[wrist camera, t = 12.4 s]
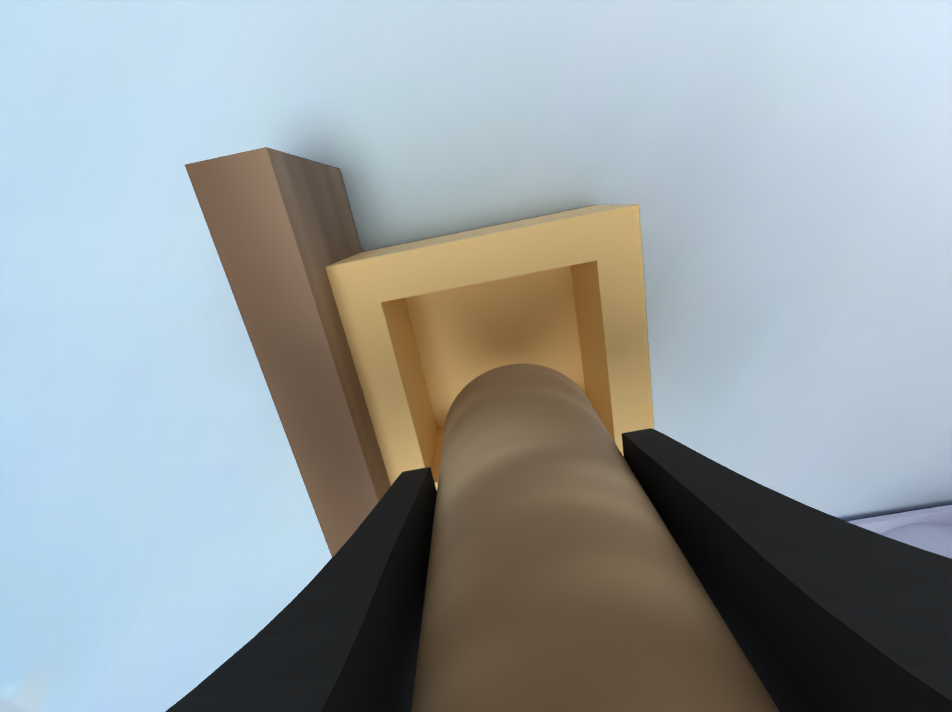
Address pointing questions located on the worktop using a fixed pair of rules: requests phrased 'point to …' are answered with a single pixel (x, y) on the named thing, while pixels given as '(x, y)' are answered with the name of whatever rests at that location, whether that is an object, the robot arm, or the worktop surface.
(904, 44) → the worktop surface
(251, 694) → the robot arm
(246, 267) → the walnut wall
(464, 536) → the dowel
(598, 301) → the socket block
